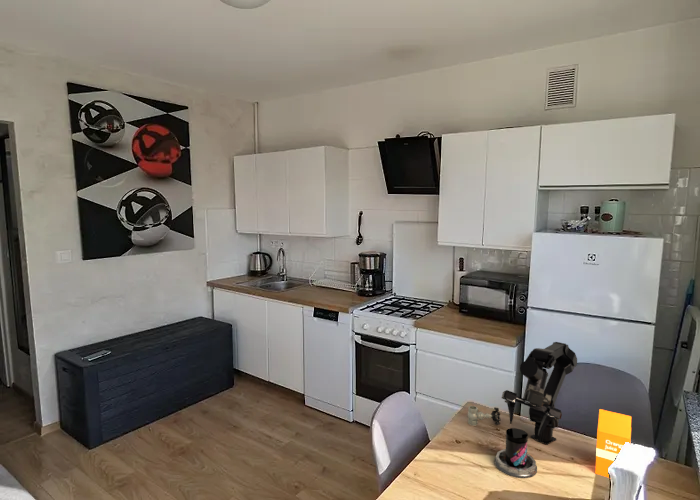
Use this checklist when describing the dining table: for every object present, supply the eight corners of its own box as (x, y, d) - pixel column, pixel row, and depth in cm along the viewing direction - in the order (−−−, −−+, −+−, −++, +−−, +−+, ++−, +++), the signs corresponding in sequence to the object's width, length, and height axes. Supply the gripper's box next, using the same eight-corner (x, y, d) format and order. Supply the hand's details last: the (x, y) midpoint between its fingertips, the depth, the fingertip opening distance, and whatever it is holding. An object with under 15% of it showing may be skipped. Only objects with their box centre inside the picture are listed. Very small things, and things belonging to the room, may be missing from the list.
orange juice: (597, 462, 141) (600, 404, 139) (629, 471, 136) (632, 411, 134) (594, 473, 135) (597, 413, 133) (627, 484, 130) (631, 421, 128)
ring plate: (511, 450, 148) (511, 444, 148) (545, 469, 137) (545, 462, 137) (486, 462, 141) (486, 455, 141) (520, 483, 130) (520, 476, 130)
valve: (469, 427, 164) (500, 428, 164) (469, 411, 164) (501, 411, 163) (465, 419, 171) (495, 419, 170) (465, 403, 170) (495, 404, 170)
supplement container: (505, 467, 137) (506, 436, 136) (504, 456, 143) (505, 426, 143) (527, 471, 135) (528, 440, 134) (525, 459, 141) (526, 429, 141)
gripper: (512, 371, 143) (499, 417, 138) (571, 393, 137) (560, 442, 132) (507, 375, 153) (495, 418, 148) (561, 395, 147) (551, 441, 142)
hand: (524, 429), depth 142 cm, fingers open, 9 cm apart
